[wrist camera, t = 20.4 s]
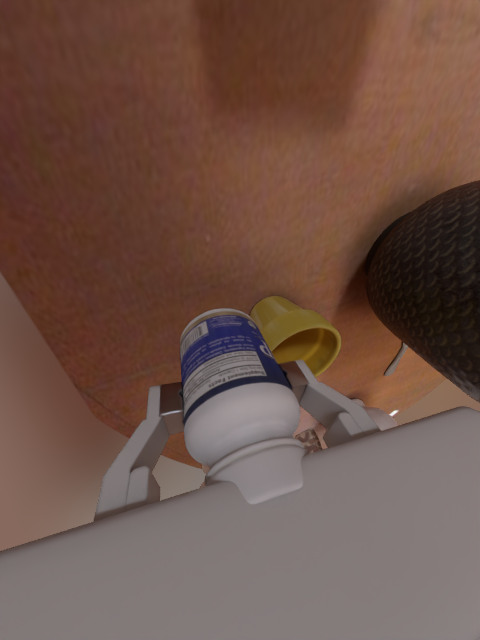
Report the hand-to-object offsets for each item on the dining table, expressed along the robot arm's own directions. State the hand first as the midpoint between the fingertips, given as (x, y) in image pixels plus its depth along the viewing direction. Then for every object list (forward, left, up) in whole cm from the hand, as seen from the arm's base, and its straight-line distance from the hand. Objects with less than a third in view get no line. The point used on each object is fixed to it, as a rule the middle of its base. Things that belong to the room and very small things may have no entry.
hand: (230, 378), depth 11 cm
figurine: (+30, -59, -16) cm, 68 cm away
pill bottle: (0, 0, -4) cm, 4 cm away
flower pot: (+10, -8, -16) cm, 21 cm away
